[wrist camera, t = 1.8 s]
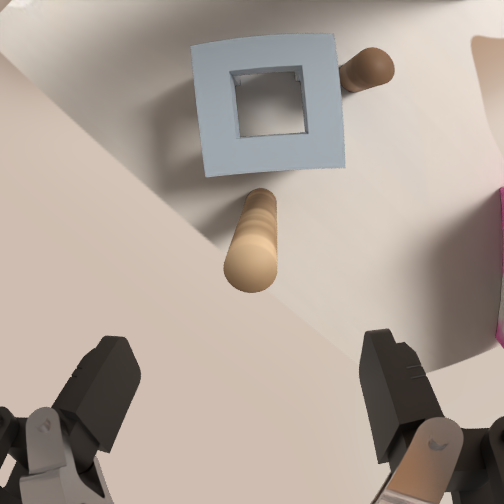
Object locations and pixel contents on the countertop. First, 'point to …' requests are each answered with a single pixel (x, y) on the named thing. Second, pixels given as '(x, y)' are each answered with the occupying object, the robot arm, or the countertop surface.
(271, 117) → the countertop surface
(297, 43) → the square frame
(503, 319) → the gum box
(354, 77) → the short pin
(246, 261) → the long pin
